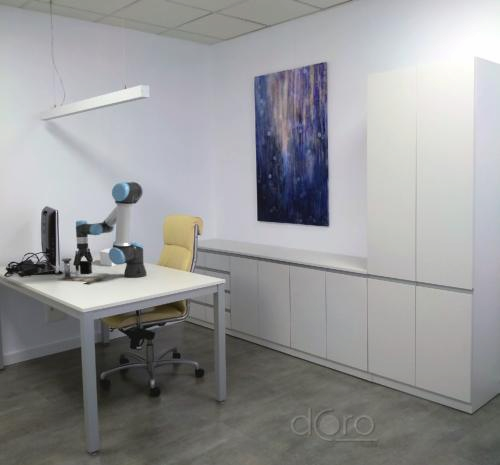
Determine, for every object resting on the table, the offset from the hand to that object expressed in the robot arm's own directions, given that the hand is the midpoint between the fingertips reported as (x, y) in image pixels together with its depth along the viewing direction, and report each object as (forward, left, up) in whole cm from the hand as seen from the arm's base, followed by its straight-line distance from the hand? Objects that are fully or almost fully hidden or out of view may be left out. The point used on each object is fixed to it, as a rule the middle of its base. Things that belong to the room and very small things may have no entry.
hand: (83, 273), depth 375 cm
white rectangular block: (+8, -48, -2) cm, 49 cm away
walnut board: (-8, +18, -2) cm, 19 cm away
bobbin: (+1, +18, 0) cm, 18 cm away
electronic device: (0, 0, -2) cm, 2 cm away
